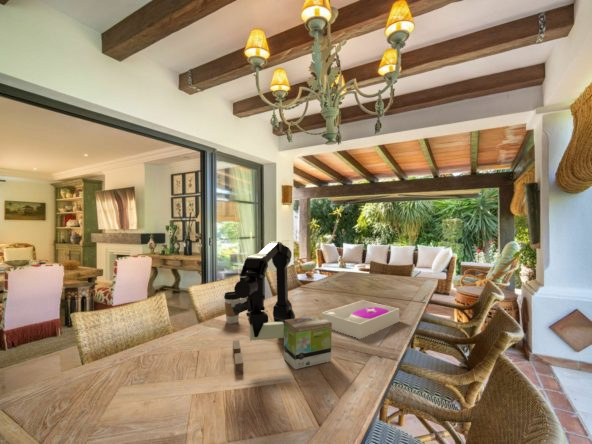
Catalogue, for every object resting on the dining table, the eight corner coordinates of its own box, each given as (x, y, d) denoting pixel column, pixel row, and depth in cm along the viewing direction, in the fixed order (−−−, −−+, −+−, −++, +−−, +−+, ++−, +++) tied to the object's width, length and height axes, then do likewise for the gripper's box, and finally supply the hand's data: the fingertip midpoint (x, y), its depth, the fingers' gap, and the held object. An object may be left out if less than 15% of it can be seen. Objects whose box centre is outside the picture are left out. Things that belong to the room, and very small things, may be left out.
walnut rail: (239, 348, 119) (239, 340, 119) (243, 373, 100) (243, 363, 100) (232, 349, 118) (232, 340, 118) (235, 374, 99) (235, 363, 99)
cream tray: (321, 327, 146) (321, 312, 146) (362, 312, 170) (362, 299, 170) (359, 340, 129) (359, 323, 129) (399, 322, 153) (399, 308, 153)
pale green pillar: (282, 335, 109) (282, 321, 109) (283, 337, 107) (283, 323, 107) (249, 337, 106) (249, 323, 106) (250, 340, 104) (250, 326, 104)
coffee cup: (236, 325, 147) (237, 294, 147) (221, 323, 148) (221, 293, 148) (243, 319, 155) (243, 290, 155) (228, 318, 156) (228, 290, 157)
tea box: (295, 371, 101) (295, 327, 101) (283, 359, 110) (283, 319, 110) (332, 361, 108) (332, 321, 108) (317, 351, 117) (317, 313, 117)
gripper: (231, 287, 113) (231, 328, 113) (234, 299, 95) (233, 348, 94) (260, 285, 115) (260, 326, 115) (268, 297, 97) (268, 345, 97)
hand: (255, 335), depth 106 cm, fingers closed on pale green pillar, 2 cm apart
